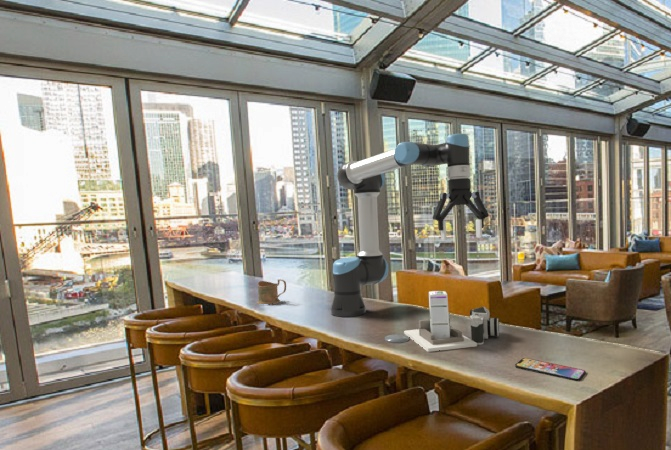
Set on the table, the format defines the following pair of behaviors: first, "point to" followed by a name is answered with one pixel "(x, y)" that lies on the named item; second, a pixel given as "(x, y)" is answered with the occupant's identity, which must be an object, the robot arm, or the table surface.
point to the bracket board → (432, 344)
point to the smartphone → (550, 369)
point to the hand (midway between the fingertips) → (461, 238)
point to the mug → (269, 292)
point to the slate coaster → (396, 338)
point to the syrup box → (439, 314)
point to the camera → (483, 325)
